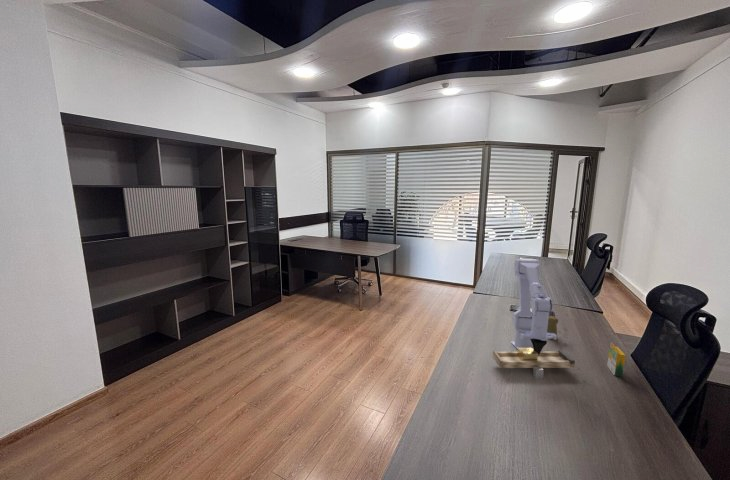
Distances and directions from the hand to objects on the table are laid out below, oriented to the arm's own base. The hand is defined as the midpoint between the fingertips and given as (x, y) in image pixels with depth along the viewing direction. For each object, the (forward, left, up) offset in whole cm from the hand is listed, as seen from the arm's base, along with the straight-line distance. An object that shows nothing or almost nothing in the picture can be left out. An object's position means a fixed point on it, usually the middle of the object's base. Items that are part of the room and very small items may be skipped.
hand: (536, 354), depth 126 cm
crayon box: (-33, +2, -7) cm, 34 cm away
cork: (-24, -28, -7) cm, 37 cm away
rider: (+4, 0, -2) cm, 5 cm away
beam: (+2, 0, -4) cm, 4 cm away
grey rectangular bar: (+2, 0, -7) cm, 7 cm away
